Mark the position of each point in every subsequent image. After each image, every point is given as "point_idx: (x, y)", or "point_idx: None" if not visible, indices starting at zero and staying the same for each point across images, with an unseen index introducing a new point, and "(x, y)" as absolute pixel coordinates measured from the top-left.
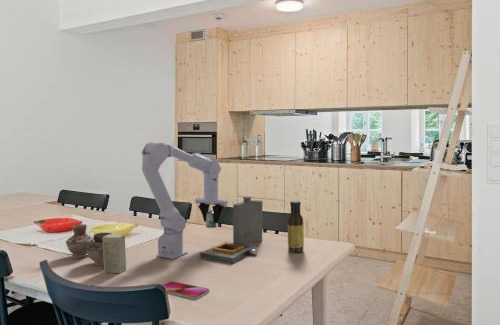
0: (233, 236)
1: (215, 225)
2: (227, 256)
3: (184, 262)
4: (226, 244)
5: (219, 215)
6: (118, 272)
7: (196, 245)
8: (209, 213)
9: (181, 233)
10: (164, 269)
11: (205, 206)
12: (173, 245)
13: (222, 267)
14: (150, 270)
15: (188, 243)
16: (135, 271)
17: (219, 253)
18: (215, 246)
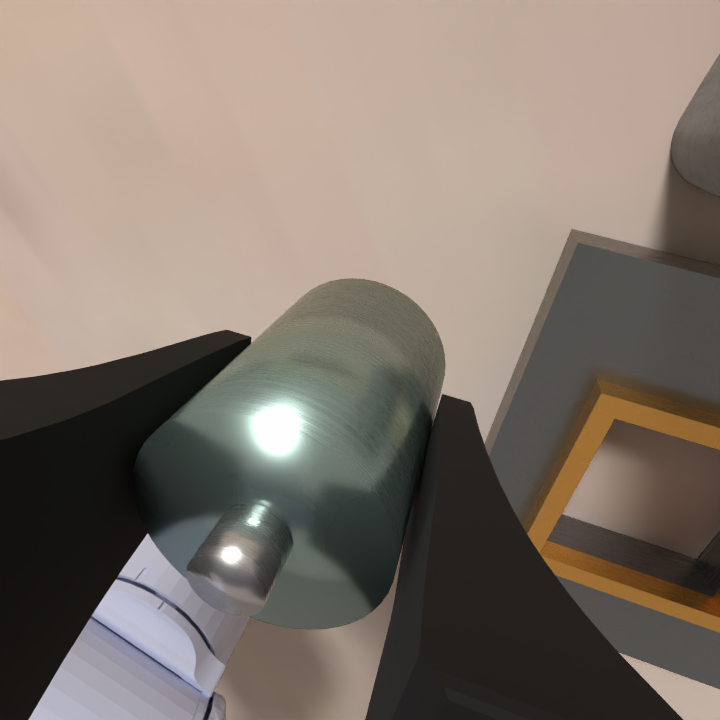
0: (717, 183)
1: (437, 404)
2: (675, 660)
3: (377, 615)
4: (625, 416)
5: (494, 493)
6: None
7: (264, 256)
8: (282, 624)
9: (218, 648)
10: (333, 686)
11: (3, 638)
12: (242, 622)
13: None
14: (283, 689)
15: (165, 206)
16: (236, 691)
17: (591, 600)
18: (504, 434)
